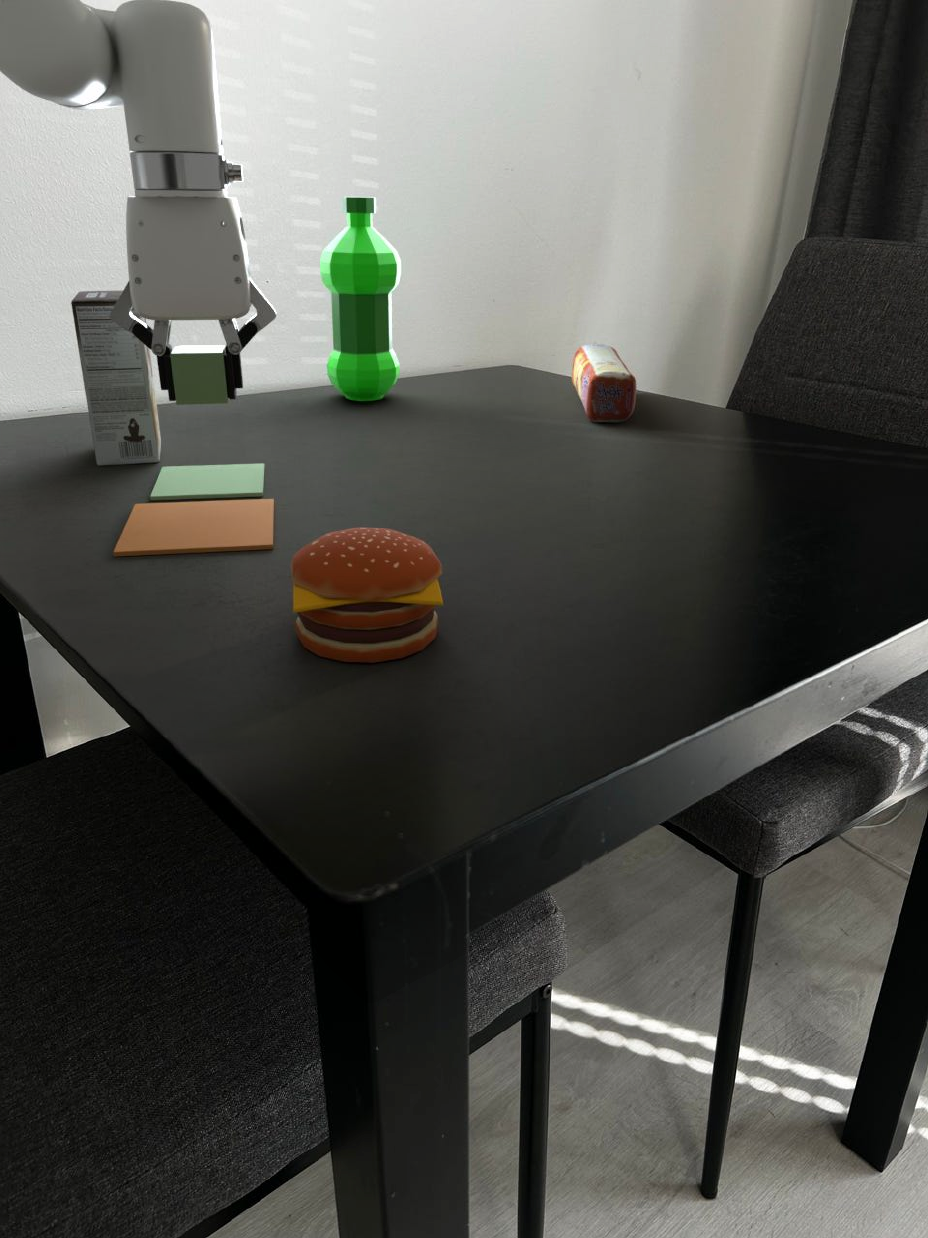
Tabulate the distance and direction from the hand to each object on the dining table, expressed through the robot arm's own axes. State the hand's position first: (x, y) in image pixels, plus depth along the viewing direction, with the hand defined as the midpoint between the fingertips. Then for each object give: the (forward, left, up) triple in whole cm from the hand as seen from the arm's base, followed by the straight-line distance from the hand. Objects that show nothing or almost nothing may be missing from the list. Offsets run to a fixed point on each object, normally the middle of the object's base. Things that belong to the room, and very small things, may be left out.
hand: (203, 395), depth 84 cm
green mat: (0, 0, -8) cm, 8 cm away
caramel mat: (0, -13, -8) cm, 15 cm away
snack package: (+49, +30, -9) cm, 58 cm away
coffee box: (-9, +12, -9) cm, 17 cm away
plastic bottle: (+18, +39, -9) cm, 44 cm away
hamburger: (+12, -35, -9) cm, 38 cm away
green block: (0, 0, 0) cm, 0 cm away
